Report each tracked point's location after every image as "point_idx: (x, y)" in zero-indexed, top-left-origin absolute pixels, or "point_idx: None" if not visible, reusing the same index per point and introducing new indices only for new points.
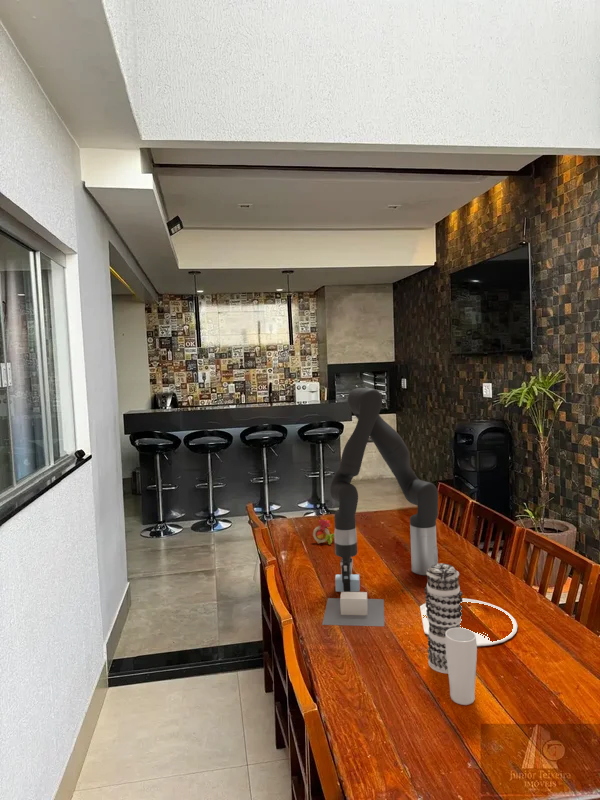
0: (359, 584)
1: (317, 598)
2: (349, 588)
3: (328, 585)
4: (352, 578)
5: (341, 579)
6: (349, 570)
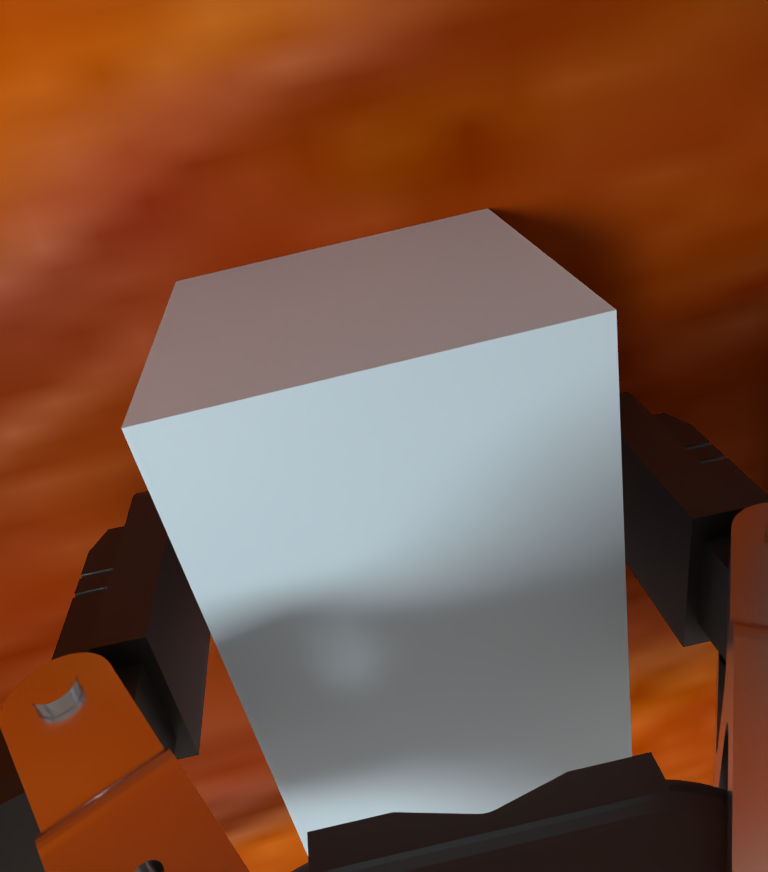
0: (276, 298)
1: (676, 728)
2: (670, 443)
3: (234, 756)
4: (502, 522)
5: (588, 715)
6: (727, 796)
